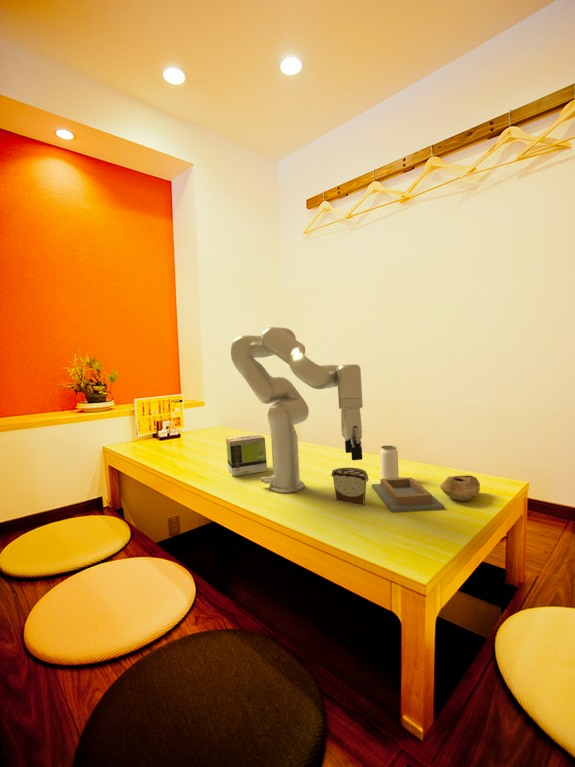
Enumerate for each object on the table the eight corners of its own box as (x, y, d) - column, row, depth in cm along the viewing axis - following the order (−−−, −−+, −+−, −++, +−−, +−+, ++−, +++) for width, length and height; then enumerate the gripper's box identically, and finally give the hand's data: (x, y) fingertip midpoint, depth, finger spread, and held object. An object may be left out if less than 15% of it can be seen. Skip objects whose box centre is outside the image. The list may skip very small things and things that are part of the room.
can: (399, 481, 137) (398, 449, 136) (381, 481, 138) (380, 449, 138) (397, 476, 143) (396, 445, 143) (380, 475, 145) (379, 445, 144)
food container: (374, 500, 121) (374, 469, 120) (368, 506, 115) (367, 475, 115) (339, 494, 127) (338, 465, 127) (332, 500, 122) (330, 470, 121)
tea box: (261, 465, 166) (259, 433, 165) (267, 472, 156) (265, 437, 155) (227, 470, 161) (225, 436, 160) (231, 477, 152) (229, 441, 151)
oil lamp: (488, 494, 121) (487, 470, 121) (470, 508, 111) (469, 482, 110) (453, 487, 129) (453, 464, 129) (434, 499, 119) (433, 475, 118)
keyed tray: (391, 512, 111) (391, 500, 110) (371, 487, 133) (371, 477, 132) (444, 508, 111) (444, 497, 111) (416, 484, 133) (415, 474, 133)
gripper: (334, 401, 128) (337, 450, 129) (344, 406, 110) (347, 464, 111) (356, 399, 128) (359, 449, 129) (369, 405, 111) (372, 462, 112)
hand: (353, 456), depth 120 cm, fingers open, 9 cm apart
